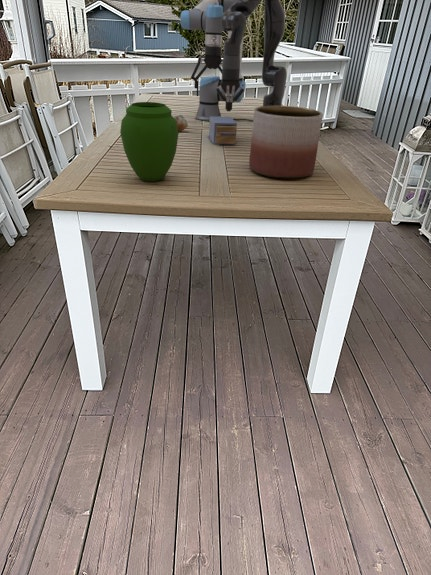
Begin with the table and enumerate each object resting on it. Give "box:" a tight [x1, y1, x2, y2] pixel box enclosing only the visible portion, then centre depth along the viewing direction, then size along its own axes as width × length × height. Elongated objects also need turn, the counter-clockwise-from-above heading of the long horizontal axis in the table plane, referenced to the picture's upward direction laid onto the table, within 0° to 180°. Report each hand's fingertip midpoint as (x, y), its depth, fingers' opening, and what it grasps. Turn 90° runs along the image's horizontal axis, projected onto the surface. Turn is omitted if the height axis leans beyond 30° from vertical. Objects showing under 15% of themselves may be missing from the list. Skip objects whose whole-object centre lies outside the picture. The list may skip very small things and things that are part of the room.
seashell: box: [173, 114, 189, 132], centre depth 214 cm, size 10×6×8 cm, turn 97°
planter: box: [248, 105, 324, 180], centre depth 156 cm, size 25×25×22 cm
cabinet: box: [208, 116, 238, 145], centre depth 200 cm, size 16×11×10 cm
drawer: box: [215, 125, 238, 145], centre depth 195 cm, size 20×10×8 cm, turn 9°
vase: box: [119, 101, 179, 182], centre depth 140 cm, size 20×20×24 cm
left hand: (211, 96), depth 198 cm, fingers open, 13 cm apart
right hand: (228, 111), depth 183 cm, fingers closed
